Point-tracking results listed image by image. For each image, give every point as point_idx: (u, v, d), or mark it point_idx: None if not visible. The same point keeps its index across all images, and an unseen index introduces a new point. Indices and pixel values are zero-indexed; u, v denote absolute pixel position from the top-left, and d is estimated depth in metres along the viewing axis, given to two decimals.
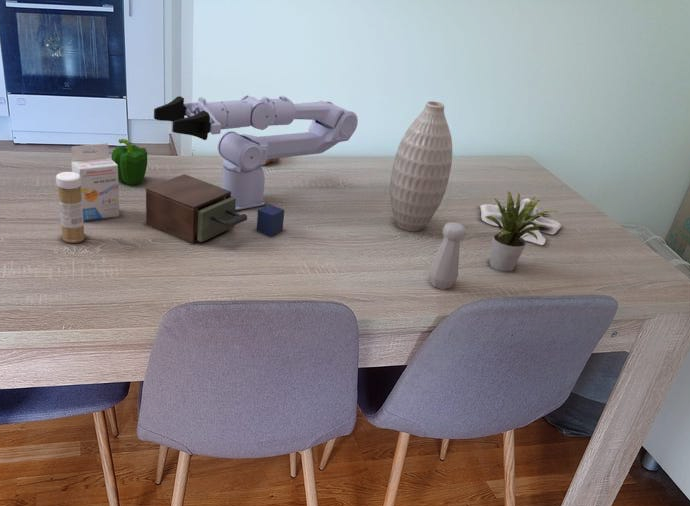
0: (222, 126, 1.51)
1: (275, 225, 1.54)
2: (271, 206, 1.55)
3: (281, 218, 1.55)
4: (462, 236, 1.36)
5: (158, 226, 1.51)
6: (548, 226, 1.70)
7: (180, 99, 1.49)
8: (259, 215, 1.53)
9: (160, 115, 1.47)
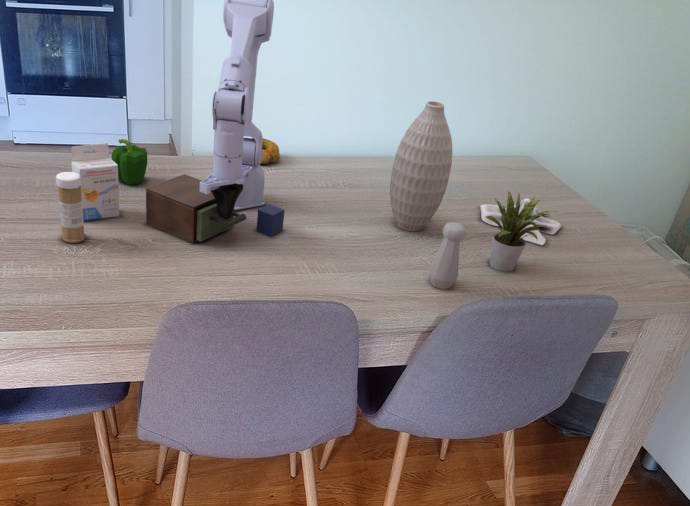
0: None
1: (275, 225, 1.54)
2: (271, 206, 1.55)
3: (281, 218, 1.55)
4: (462, 236, 1.36)
5: (158, 226, 1.51)
6: (548, 226, 1.70)
7: (233, 193, 1.42)
8: (259, 215, 1.53)
9: None
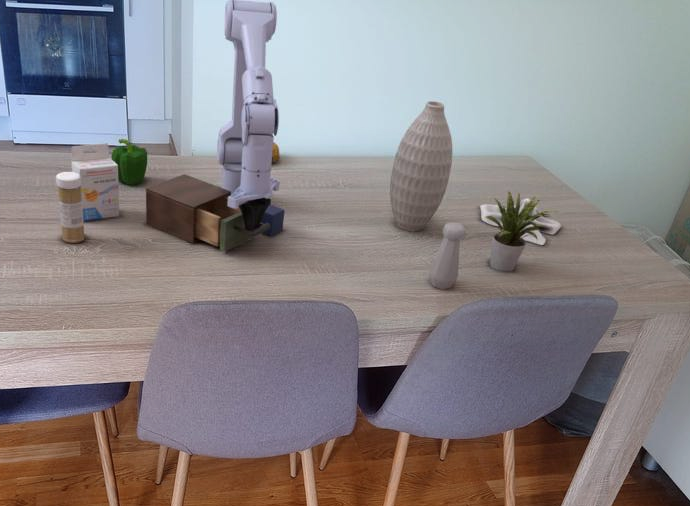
0: None
1: (275, 225, 1.54)
2: (271, 206, 1.55)
3: (281, 218, 1.55)
4: (462, 236, 1.36)
5: (158, 226, 1.51)
6: (548, 226, 1.70)
7: (261, 207, 1.40)
8: None
9: None
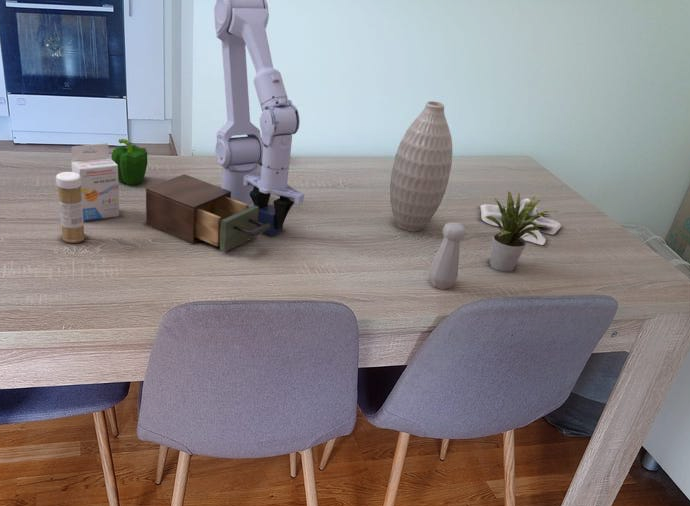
0: (288, 170, 1.48)
1: None
2: (271, 206, 1.55)
3: None
4: (462, 236, 1.36)
5: (158, 226, 1.51)
6: (548, 226, 1.70)
7: (255, 197, 1.51)
8: (259, 215, 1.53)
9: None
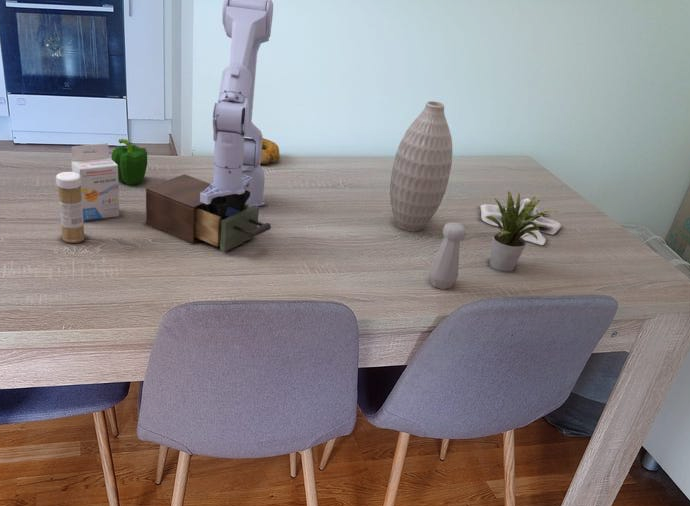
0: None
1: None
2: None
3: None
4: (462, 236, 1.36)
5: (158, 226, 1.51)
6: (548, 226, 1.70)
7: (226, 206, 1.42)
8: None
9: None
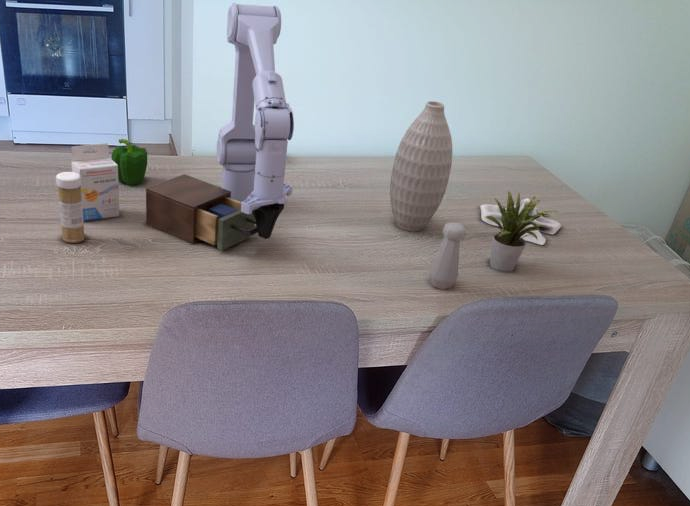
0: None
1: None
2: (215, 208, 1.47)
3: None
4: (462, 236, 1.36)
5: (158, 226, 1.51)
6: (548, 226, 1.70)
7: (274, 213, 1.39)
8: None
9: None
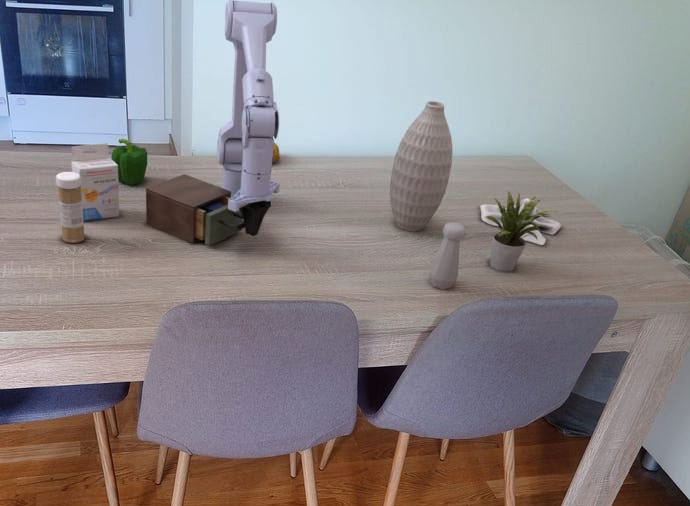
0: None
1: None
2: None
3: None
4: (462, 236, 1.36)
5: (158, 226, 1.51)
6: (548, 226, 1.70)
7: (261, 210, 1.40)
8: None
9: None
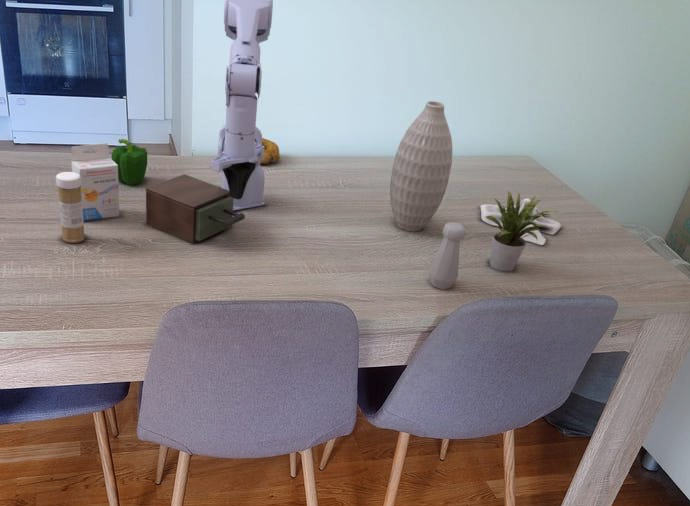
0: None
1: None
2: None
3: None
4: (462, 236, 1.36)
5: (158, 226, 1.51)
6: (548, 226, 1.70)
7: (245, 172, 1.38)
8: None
9: None
